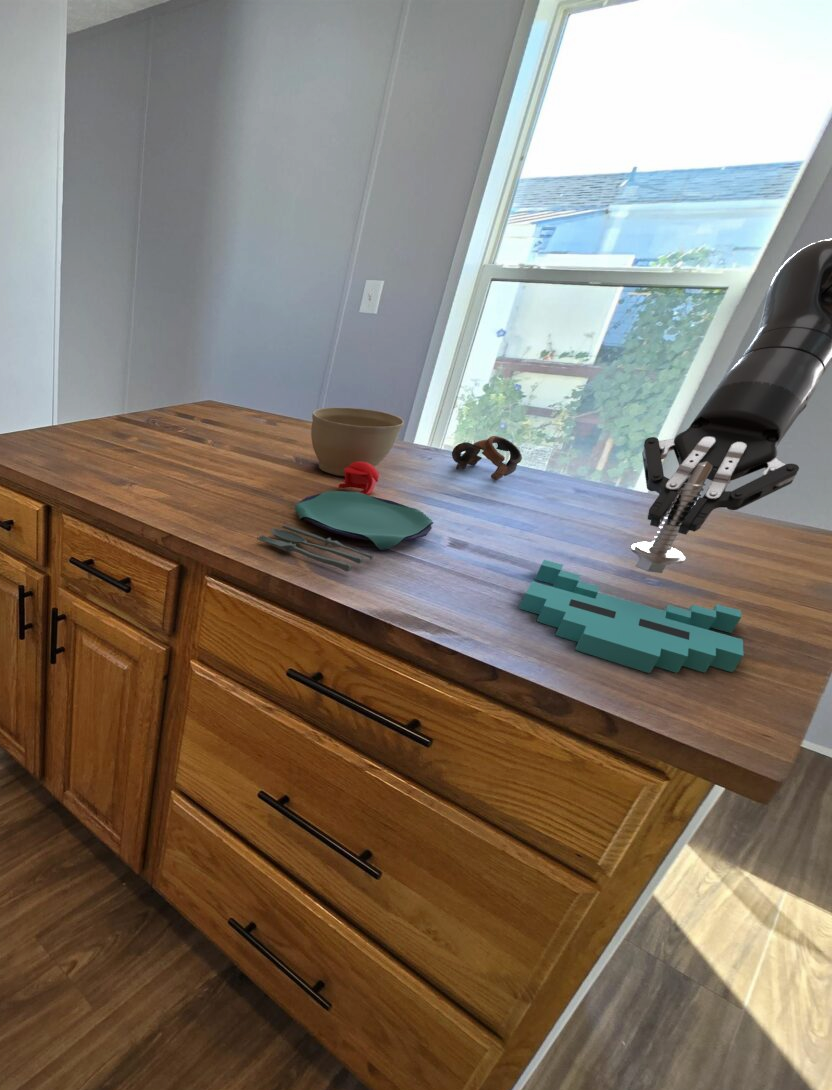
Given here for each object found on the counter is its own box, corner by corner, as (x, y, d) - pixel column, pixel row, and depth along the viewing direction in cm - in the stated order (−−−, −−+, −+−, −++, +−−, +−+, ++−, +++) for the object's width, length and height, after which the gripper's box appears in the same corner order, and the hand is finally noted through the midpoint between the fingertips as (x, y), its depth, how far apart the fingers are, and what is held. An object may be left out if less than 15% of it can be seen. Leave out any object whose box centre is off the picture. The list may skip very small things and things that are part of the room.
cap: (346, 484, 124) (354, 453, 121) (379, 492, 120) (388, 460, 117) (329, 494, 119) (337, 462, 116) (363, 503, 115) (372, 470, 112)
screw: (619, 567, 77) (627, 555, 80) (672, 581, 74) (678, 568, 77) (675, 460, 71) (681, 451, 74) (735, 471, 68) (739, 462, 71)
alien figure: (537, 573, 92) (508, 628, 79) (544, 559, 91) (515, 612, 78) (731, 626, 80) (733, 700, 67) (741, 610, 79) (745, 682, 66)
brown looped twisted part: (483, 466, 136) (517, 437, 129) (497, 499, 131) (533, 471, 124) (433, 451, 134) (465, 421, 127) (445, 484, 129) (479, 455, 122)
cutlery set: (449, 529, 105) (454, 516, 104) (358, 583, 89) (362, 568, 88) (333, 495, 119) (336, 482, 118) (234, 536, 102) (237, 522, 101)
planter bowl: (401, 471, 131) (417, 417, 125) (367, 490, 121) (383, 431, 116) (323, 453, 141) (335, 402, 135) (286, 469, 131) (298, 414, 126)
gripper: (682, 369, 75) (597, 491, 75) (857, 391, 66) (761, 531, 66) (672, 409, 81) (593, 523, 81) (833, 435, 71) (744, 564, 71)
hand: (669, 526), depth 73 cm, fingers closed on screw, 2 cm apart
